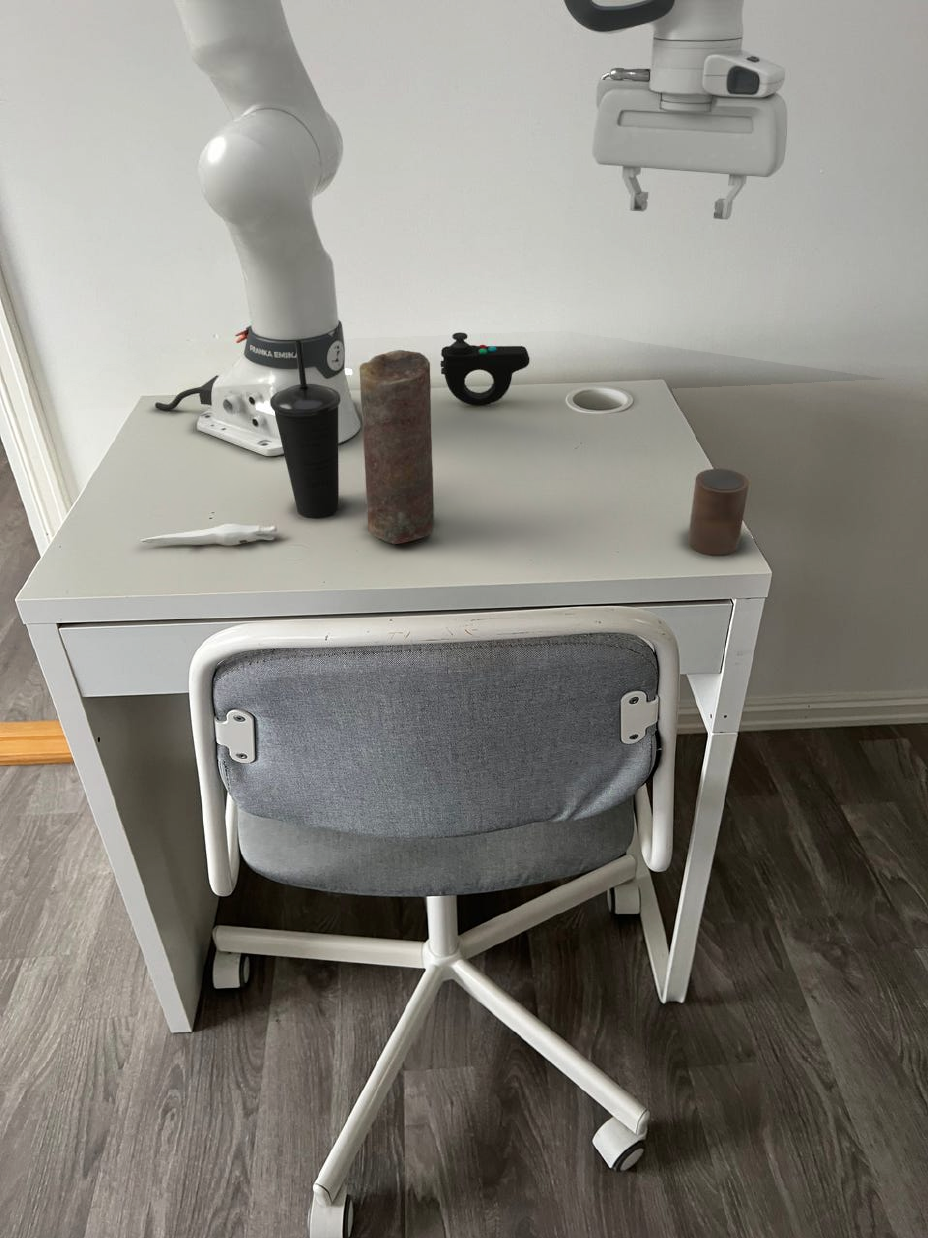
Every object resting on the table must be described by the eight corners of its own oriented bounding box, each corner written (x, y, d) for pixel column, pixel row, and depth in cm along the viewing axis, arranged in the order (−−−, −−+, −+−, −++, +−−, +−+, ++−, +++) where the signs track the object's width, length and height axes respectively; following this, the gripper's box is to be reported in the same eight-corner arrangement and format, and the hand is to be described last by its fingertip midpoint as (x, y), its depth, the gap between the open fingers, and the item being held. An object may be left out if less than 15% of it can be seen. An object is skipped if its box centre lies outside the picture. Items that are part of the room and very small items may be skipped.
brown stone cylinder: (449, 536, 109) (444, 362, 97) (396, 559, 105) (384, 381, 93) (407, 511, 113) (398, 342, 102) (355, 532, 110) (339, 359, 98)
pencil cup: (681, 549, 106) (689, 485, 101) (695, 526, 109) (703, 464, 105) (731, 560, 103) (741, 495, 99) (743, 536, 107) (754, 473, 103)
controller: (442, 398, 141) (440, 329, 135) (528, 397, 141) (529, 328, 135) (441, 410, 137) (439, 340, 132) (529, 409, 137) (530, 338, 131)
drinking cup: (339, 527, 111) (321, 355, 99) (275, 521, 112) (250, 351, 101) (359, 495, 117) (343, 330, 105) (298, 490, 118) (276, 327, 107)
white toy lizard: (279, 532, 110) (277, 518, 109) (277, 544, 108) (275, 530, 107) (143, 541, 109) (140, 527, 108) (139, 554, 107) (135, 539, 106)
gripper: (587, 70, 101) (580, 211, 109) (787, 77, 93) (764, 229, 101) (608, 63, 106) (600, 199, 114) (801, 70, 98) (778, 216, 106)
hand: (679, 213), depth 107 cm, fingers open, 8 cm apart
